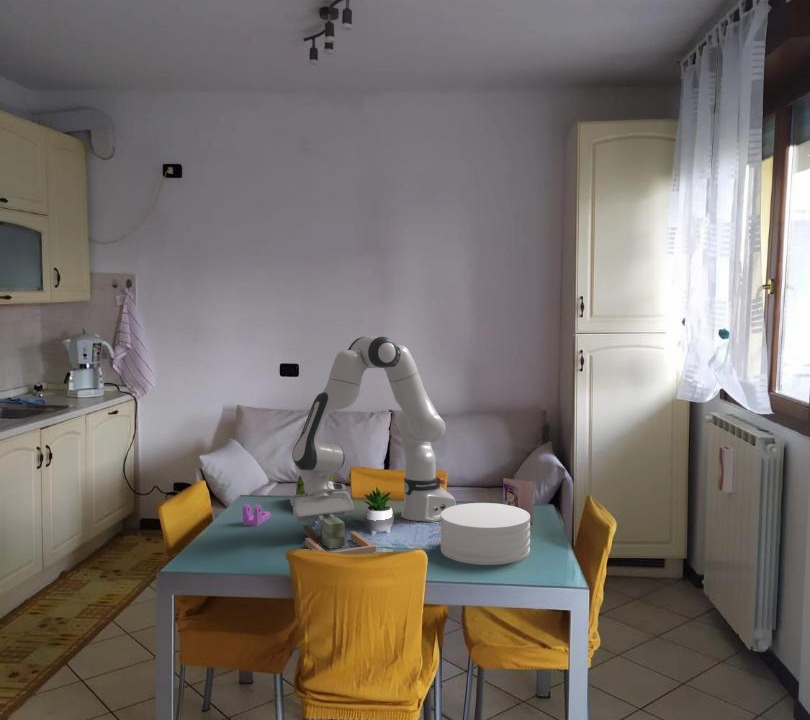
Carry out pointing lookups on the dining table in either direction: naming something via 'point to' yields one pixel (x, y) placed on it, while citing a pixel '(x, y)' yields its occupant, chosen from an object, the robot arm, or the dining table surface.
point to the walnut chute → (312, 534)
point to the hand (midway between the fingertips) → (328, 528)
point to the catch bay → (365, 548)
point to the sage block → (333, 532)
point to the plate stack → (485, 533)
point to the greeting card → (519, 495)
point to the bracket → (257, 517)
